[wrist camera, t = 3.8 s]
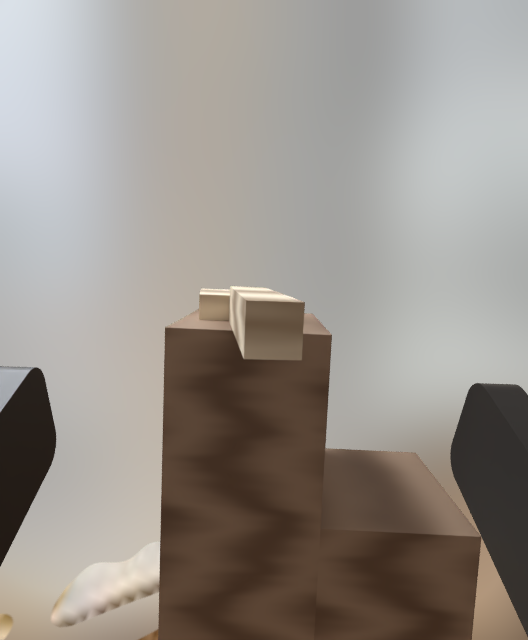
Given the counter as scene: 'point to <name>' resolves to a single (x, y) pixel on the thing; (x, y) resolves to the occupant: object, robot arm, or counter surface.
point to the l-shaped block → (258, 320)
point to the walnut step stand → (295, 509)
